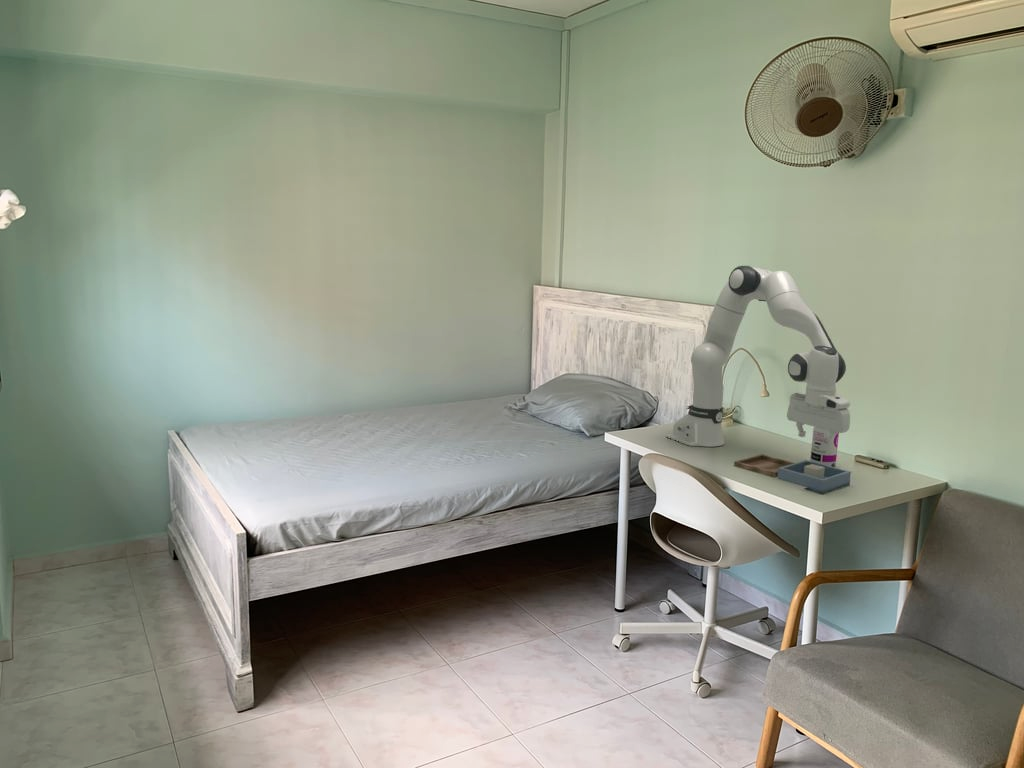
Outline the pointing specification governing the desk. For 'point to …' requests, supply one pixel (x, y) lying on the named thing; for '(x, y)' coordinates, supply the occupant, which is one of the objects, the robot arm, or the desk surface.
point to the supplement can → (823, 447)
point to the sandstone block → (814, 471)
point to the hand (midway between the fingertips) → (814, 439)
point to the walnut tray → (762, 464)
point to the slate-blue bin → (831, 481)
